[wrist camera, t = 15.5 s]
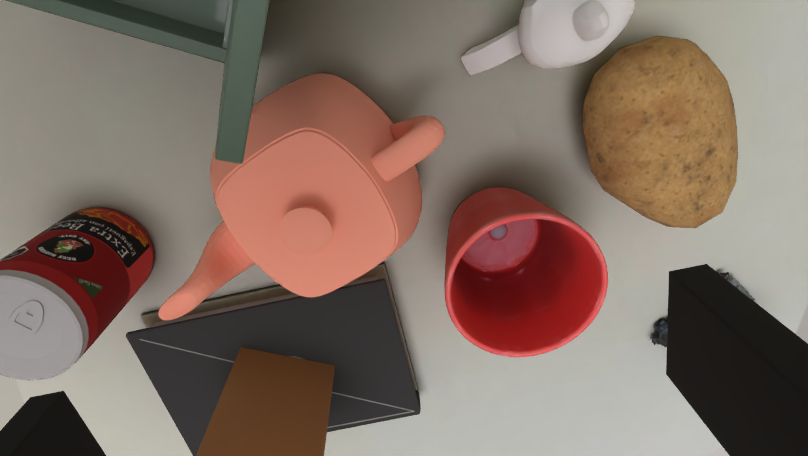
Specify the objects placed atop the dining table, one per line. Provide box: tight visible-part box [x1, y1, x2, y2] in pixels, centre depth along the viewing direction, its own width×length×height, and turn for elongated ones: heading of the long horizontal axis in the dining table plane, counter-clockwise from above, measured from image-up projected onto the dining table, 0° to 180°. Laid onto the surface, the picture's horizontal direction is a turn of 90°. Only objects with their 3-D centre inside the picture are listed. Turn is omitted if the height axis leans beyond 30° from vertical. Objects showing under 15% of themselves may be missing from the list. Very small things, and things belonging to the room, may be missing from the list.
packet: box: [196, 347, 335, 456], centre depth 36 cm, size 8×5×14 cm, turn 74°
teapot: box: [158, 73, 445, 321], centre depth 32 cm, size 13×20×12 cm, turn 123°
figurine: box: [461, 0, 635, 76], centre depth 29 cm, size 12×5×11 cm, turn 121°
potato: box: [582, 36, 738, 228], centre depth 33 cm, size 10×14×8 cm
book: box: [126, 263, 420, 456], centre depth 43 cm, size 22×15×3 cm
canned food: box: [0, 208, 154, 380], centre depth 35 cm, size 8×8×11 cm
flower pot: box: [445, 187, 608, 357], centre depth 36 cm, size 11×11×10 cm
